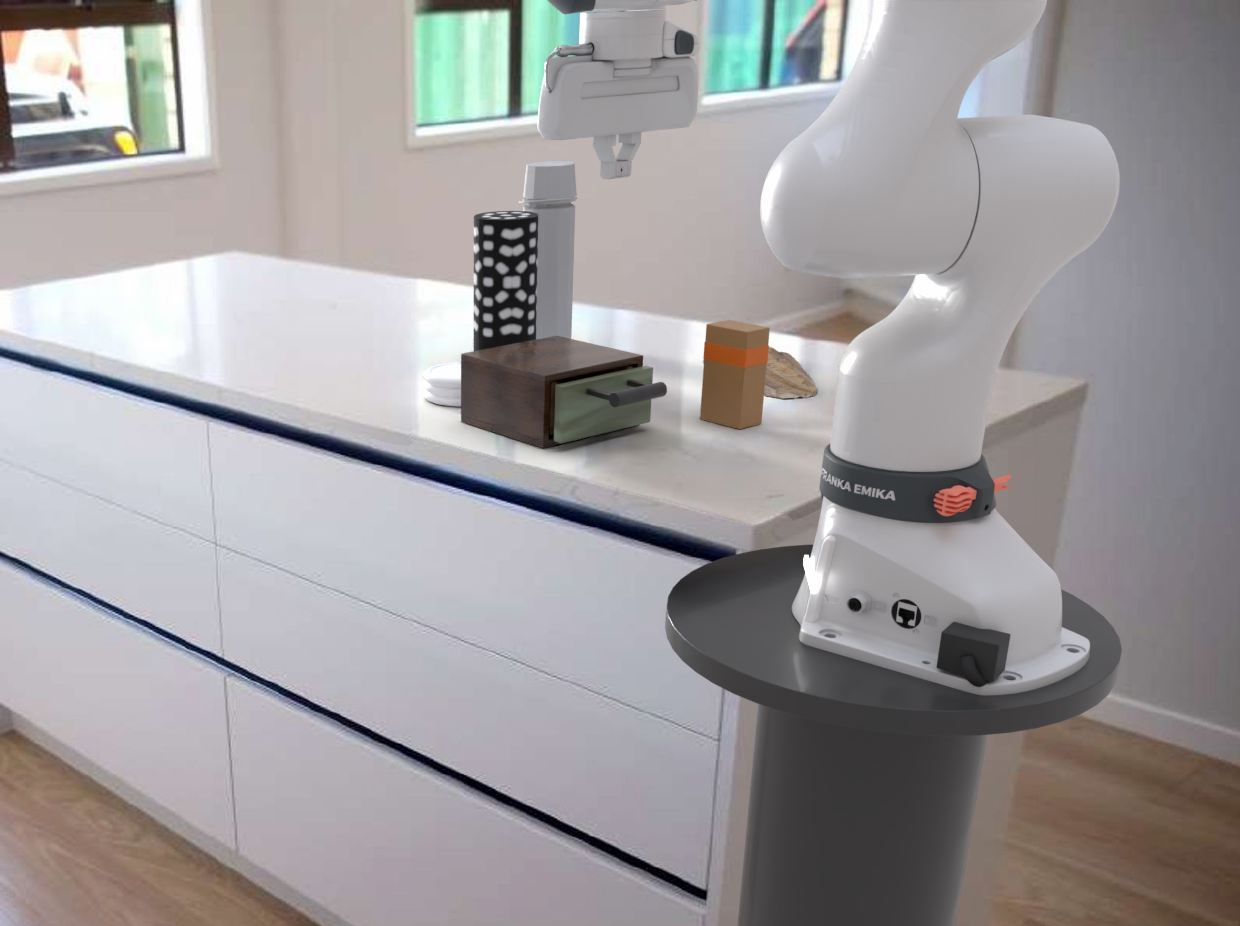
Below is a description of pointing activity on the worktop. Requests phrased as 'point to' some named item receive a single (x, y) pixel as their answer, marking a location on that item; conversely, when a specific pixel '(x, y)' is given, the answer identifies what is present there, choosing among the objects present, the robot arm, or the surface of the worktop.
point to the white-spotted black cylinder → (505, 278)
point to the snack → (734, 373)
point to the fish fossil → (786, 377)
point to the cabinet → (528, 383)
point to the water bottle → (553, 242)
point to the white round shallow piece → (443, 384)
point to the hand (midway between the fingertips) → (615, 178)
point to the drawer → (601, 402)
